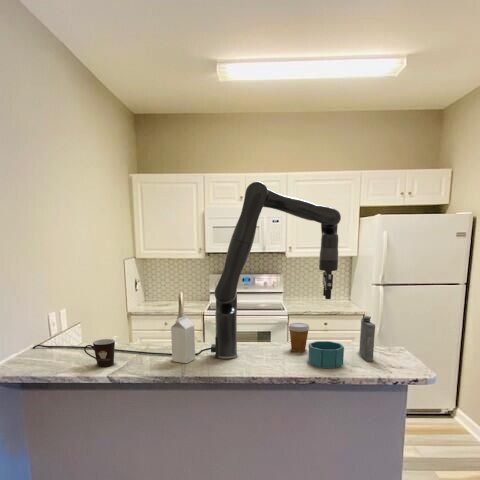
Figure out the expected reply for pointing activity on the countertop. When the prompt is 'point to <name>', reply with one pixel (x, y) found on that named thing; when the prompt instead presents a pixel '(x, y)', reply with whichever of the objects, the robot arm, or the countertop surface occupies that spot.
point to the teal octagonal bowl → (326, 354)
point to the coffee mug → (103, 352)
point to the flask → (367, 339)
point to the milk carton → (183, 340)
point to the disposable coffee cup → (298, 336)
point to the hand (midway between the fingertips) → (326, 297)
